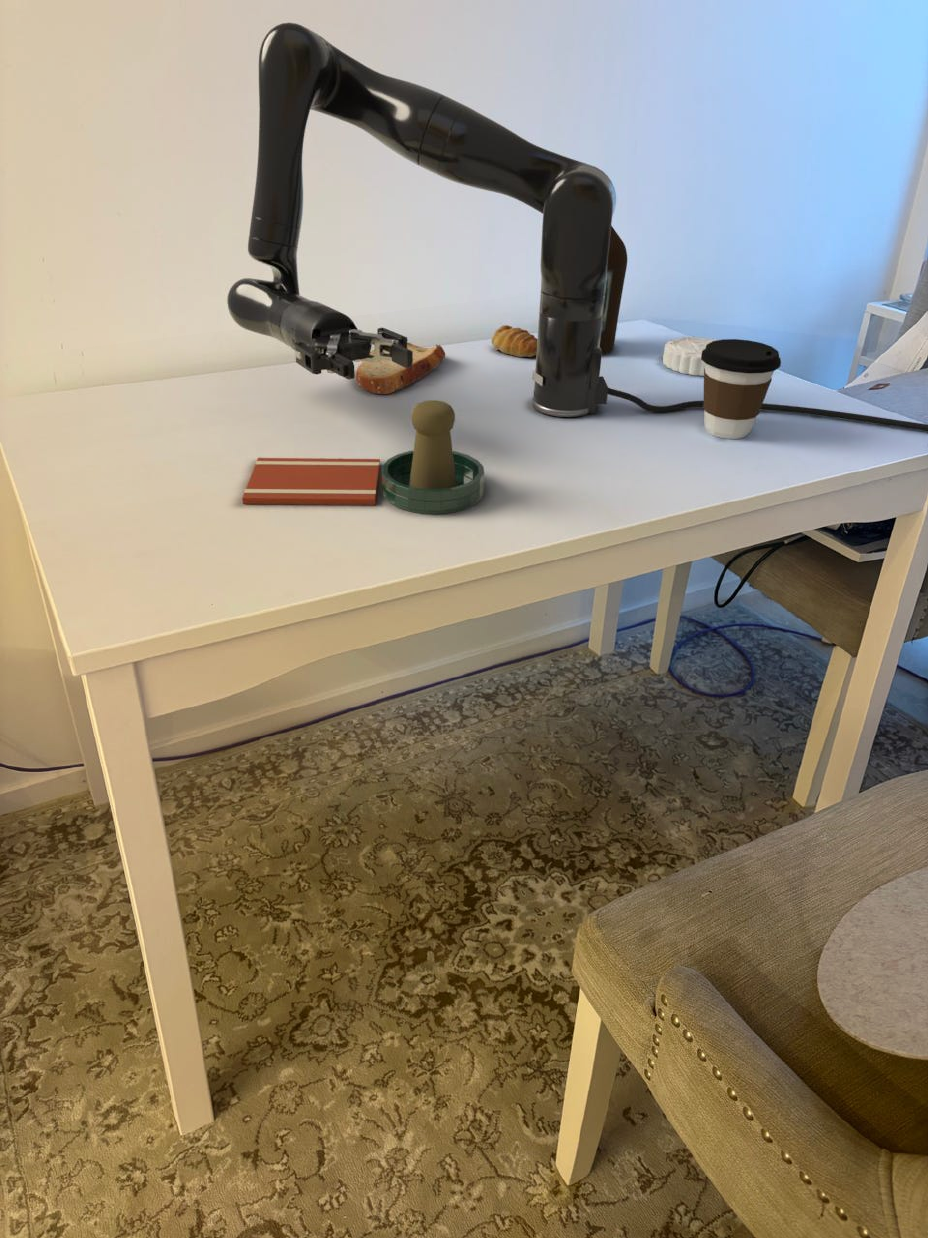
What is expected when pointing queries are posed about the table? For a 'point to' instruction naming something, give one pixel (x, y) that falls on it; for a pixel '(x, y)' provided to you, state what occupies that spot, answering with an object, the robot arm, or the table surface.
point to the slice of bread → (397, 370)
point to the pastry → (515, 341)
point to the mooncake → (686, 355)
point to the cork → (433, 446)
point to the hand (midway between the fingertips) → (381, 365)
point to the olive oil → (613, 291)
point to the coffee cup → (735, 384)
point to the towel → (313, 481)
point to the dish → (432, 500)
